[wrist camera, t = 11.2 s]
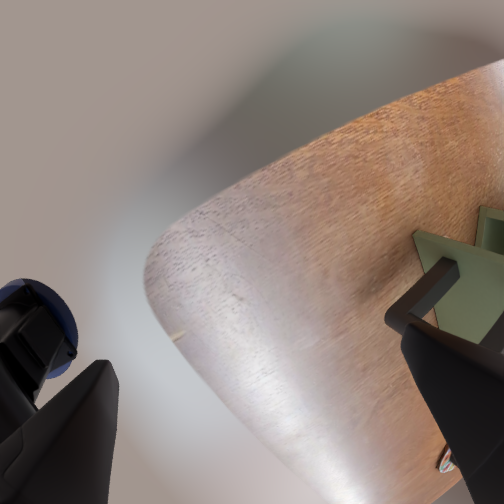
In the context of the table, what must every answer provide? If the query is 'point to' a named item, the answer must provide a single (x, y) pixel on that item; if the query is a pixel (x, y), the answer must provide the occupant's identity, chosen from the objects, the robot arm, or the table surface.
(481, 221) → the cupboard
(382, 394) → the table surface
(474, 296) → the cupboard door
